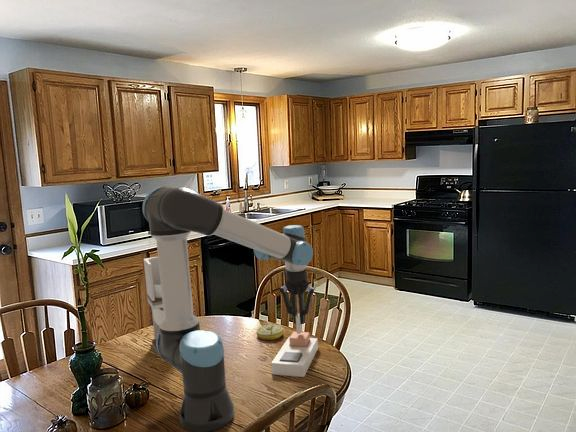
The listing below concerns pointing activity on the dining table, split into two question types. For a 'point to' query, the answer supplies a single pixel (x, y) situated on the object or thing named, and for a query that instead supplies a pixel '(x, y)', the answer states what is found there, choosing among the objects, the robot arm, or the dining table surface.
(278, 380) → the dining table surface
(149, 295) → the display case
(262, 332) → the decorated donut
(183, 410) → the robot arm
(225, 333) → the dining table surface
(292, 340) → the terracotta key
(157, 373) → the dining table surface
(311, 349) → the key panel
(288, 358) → the charcoal key
